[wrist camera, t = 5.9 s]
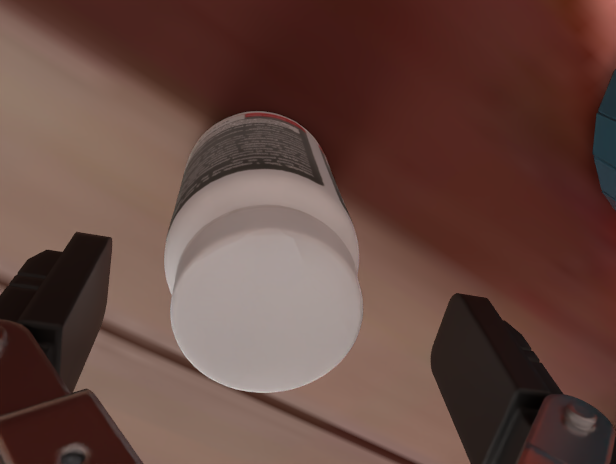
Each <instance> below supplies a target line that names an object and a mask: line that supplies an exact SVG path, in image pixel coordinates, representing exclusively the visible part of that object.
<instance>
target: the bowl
mask: <svg viewBox="0 0 616 464" xmlns="http://www.w3.org/2000/svg"><path fill="white" fill-rule="evenodd" d="M593 155H594V161H595V165H596V169H597V173H598V177H599V181H600V185H601V189H602V193H603V194H604V196H605V197H606V198H607V200H608V201H609V202H610V204H611V205H612V207H613V208H614V209H615V211H616V69H615V70H614V72H613V74H612V77H611V79H610V82H609V84H608V87H607V89H606V92H605V94H604V97H603V99H602V102H601V104H600V107H599V109H598V112H597V114H596V123H595V133H594V143H593Z"/></svg>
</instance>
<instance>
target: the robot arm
mask: <svg viewBox="0 0 616 464" xmlns="http://www.w3.org/2000/svg"><path fill="white" fill-rule="evenodd" d="M111 254H112V238H111V237H106V236H99V235H93V234H87V233H80V232H76V233H75V234H74V236H73V237H72V239H71V240H70V242H69V243H68V245H67V246H66V248H65V249H64V251H63V252H58V251H52V250H45V251H43V252H41V253H39V254H37V255H35V256H34V257H32V258H30V259H28V260H27V261H26V263H25V264H24V265H23V266H22V268H21V269H20V270H19V272H18V275H16V276H15V277H14V278H13V280H12V281H11V282H10V285H9V286H7V287H6V289H5V290H4V291H3V293H2V294H1V295H0V464H143V462H142V461H141V460H140V458H139V457H138V455H137V454H136V452H135V451H134V450H133V448H132V447H131V445H130V444H129V442H128V441H127V440H126V438H125V437H124V435H123V434H122V432H121V431H120V430H119V428H118V427H117V425H116V424H115V422H114V421H113V420H112V418H111V417H110V415H109V414H108V412H107V411H106V410H105V408H104V407H103V405H102V404H101V402H100V401H99V400H98V398H97V397H96V396H95V394H94V393H93V392H92V391H90V390H89V389H84V390H80V391H77V392H74V393H73V391H74V388H75V386H76V384H77V381H78V379H79V377H80V374H81V372H82V370H83V367H84V365H85V362H86V360H87V358H88V355H89V353H90V351H91V348H92V346H93V344H94V341H95V339H96V337H97V334H98V332H99V330H100V327H101V324H102V321H103V318H104V314H105V309H106V303H107V295H108V285H109V275H110V264H111ZM431 369H432V373H433V375H434V377H435V380H436V382H437V385H438V387H439V389H440V392H441V394H442V396H443V399H444V401H445V404H446V406H447V408H448V411H449V413H450V415H451V418H452V420H453V423H454V425H455V427H456V430H457V432H458V434H459V437H460V439H461V441H462V444H463V446H464V449H465V451H466V453H467V456H468V458H469V460H470V463H471V464H616V437H615V430H614V427H613V425H612V424H611V423H610V421H609V420H608V419H607V418H606V417H605V416H604V415H603V414H602V413H601V412H600V411H598V410H597V409H596V408H594V407H593V406H591V405H590V404H588V403H586V402H584V401H582V400H580V399H578V398H575V397H572V396H569V395H564V394H563V393H562V392H561V390H560V389H559V387H558V386H557V384H556V383H555V382H554V380H553V379H552V377H551V376H550V374H549V373H548V372H547V370H546V369H545V367H544V366H543V364H542V363H539V359H538V357H537V356H536V354H535V353H534V352H533V351H531V347H530V346H529V344H528V343H527V342H526V340H525V339H524V337H523V336H522V334H520V333H519V332H518V331H517V330H515V329H514V328H513V327H512V326H511V325H509V324H508V323H507V322H506V321H503V320H502V319H501V317H500V316H499V314H498V313H497V311H496V310H495V308H494V307H493V306H492V304H491V303H490V301H489V300H488V299H487V298H484V297H477V296H471V295H465V294H459V293H456V294H454V295H453V296H452V297H451V299H450V301H449V303H448V306H447V309H446V312H445V314H444V317H443V320H442V322H441V325H440V328H439V330H438V333H437V336H436V339H435V341H434V344H433V347H432V352H431Z"/></svg>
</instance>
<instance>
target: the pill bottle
mask: <svg viewBox="0 0 616 464" xmlns="http://www.w3.org/2000/svg"><path fill="white" fill-rule="evenodd" d="M164 267H165V274H166V279H167V283H168V286H169V289H170V292H171V294H172V298H171V307H170V316H171V325H172V329H173V332H174V336H175V339H176V341H177V343H178V345H179V347H180V349H181V351H182V352H183V354H184V355H185V356H186V358H187V359H188V360H189V361H190V362H191V363H192V364H193V365H194V367H196V368H197V369H198V370H199V371H200V372H201V373H203V374H204V375H206V376H207V377H209V378H210V379H212V380H214V381H216V382H218V383H220V384H223V385H225V386H227V387H230V388H234V389H238V390H242V391H247V392H257V393H259V392H261V393H270V392H280V391H287V390H291V389H295V388H298V387H301V386H304V385H306V384H309V383H311V382H313V381H315V380H317V379H318V378H320V377H322V376H324V375H325V374H327V373H328V372H329V371H331V370H332V369H333V368H334V367H335V366H337V365H338V364H339V363H340V362H341V361H342V360H343V358H344V357H345V356H346V355H347V353H348V352H349V351H350V349H351V348H352V346H353V344H354V343H355V341H356V338H357V336H358V333H359V330H360V327H361V323H362V318H363V298H362V292H361V288H360V284H359V281H358V277H357V274H358V267H359V247H358V240H357V236H356V232H355V229H354V226H353V223H352V220H351V218H350V216H349V213H348V211H347V209H346V207H345V204H344V202H343V199H342V197H341V195H340V192H339V190H338V187H337V185H336V182H335V180H334V177H333V175H332V172H331V170H330V167H329V164H328V161H327V158H326V156H325V154H324V152H323V150H322V148H321V147H320V145H319V144H318V142H317V141H316V139H315V138H314V137H313V136H312V135H311V134H310V133H309V132H308V131H307V130H306V129H305V128H304V127H302V126H301V125H300V124H298V123H297V122H295V121H293V120H291V119H289V118H287V117H285V116H282V115H279V114H275V113H270V112H264V111H253V112H244V113H239V114H236V115H233V116H231V117H228V118H226V119H224V120H222V121H220V122H218V123H217V124H215V125H213V126H212V127H211V128H210V129H208V130H207V131H206V132H205V133H204V134H203V135H202V136H201V137H200V138H199V140H198V141H197V143H196V144H195V146H194V147H193V149H192V151H191V153H190V156H189V158H188V161H187V164H186V168H185V172H184V175H183V180H182V183H181V187H180V191H179V195H178V198H177V202H176V206H175V209H174V213H173V216H172V219H171V222H170V227H169V230H168V234H167V238H166V244H165V254H164Z"/></svg>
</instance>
